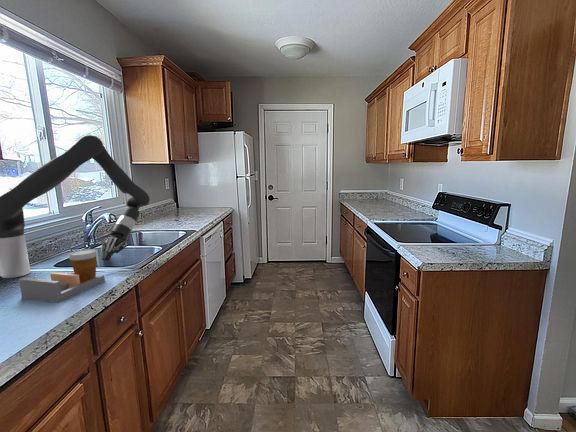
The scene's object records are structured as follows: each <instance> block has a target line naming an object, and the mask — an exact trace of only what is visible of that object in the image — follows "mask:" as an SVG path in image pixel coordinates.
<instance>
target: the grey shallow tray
mask: <svg viewBox="0 0 576 432" xmlns="http://www.w3.org/2000/svg"><path fill="white" fill-rule="evenodd" d="M68 274H75V273H74V271H73V272H69V273H68ZM104 282H106V278H105V275H104V274H100V275H98V276H96V277H95V278H93V279H91V280H88V281H86V282H83V283H80V284H79V285H76V286H74V287H72V288H69V289H67V290H65V291H61V290H60V283H59V281H51V279H50V280H49V279H39V278H38V279H37V278H30V277H29V278H28V277H21V278H19V279H18V284H19V288H20V293H21V294H20V296H21V298H22V299H25V300H33V301H43V302H48V303H49V302H50V303H60V302H62V301H64V300H66V299H69V298H71V297H73V296H75V295H77V294H80V293H82V292H84V291H86V290H88V289H92V288H93V287H95V286H98V285H100V284H102V283H104Z"/></svg>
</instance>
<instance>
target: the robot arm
mask: <svg viewBox="0 0 576 432" xmlns="http://www.w3.org/2000/svg"><path fill="white" fill-rule="evenodd" d="M91 159H93V160H94V162H96V163H97V164H98V165H99V166H100V168H102V170H103V171H104V173H105V174H106V175H107V176H108V178H109V179H110V180H111V182H112V183H113V184H114V185H115V186H116V187H117V188H118V190H119V191H120V192H121V193H123V194H127V195H130V196H129V197H128V198H127V200H126V203H125V207H124V210H123V211H122V213H121V215H120V216H119V218H118V219H117V220H116V222H115V223H114V225H113V227H112V229H111V230H110V236H108V237H107V239H106V240H104V239H103V240H101V242H100V243H101V248H102V250H103V252H104V254H103V255H102V258H101V260H102V261H104V262H105V263H107V262H110V260H111V259H112V256H113V255H114V254H118V253H120V252H121V251H123V250H124V249H125V248H127V247H128V245H129V244H128V243H127V242H126V240H128V239H129V237H130V234H131V233H132V232H133V229H134V227H135V224H136V223H137V221H138V219H139V217H140V211H139V209H140V208H142V207H145V206H148V205H149V203H150V196H149V194H148V193H147V192H146V190H144V189H143V188H141V187H140V185H139V186H138V185H137V184H136V183H134V181H133V180H132V178H131V177H130V176H129V175H128V174H127V173H126V172H125V171H124V170H123V169H122V167H121V166H120V165H119V164H118V163H117V162H116V161H115V159H113V157H112V156H111V155H110V153H109V152H108V150H107V149H106V148H105V145H104V143H103V141H102V140H101V138H100V137H98V136H96V135H93V134H84V135H83V136H81V137H80V138H79V139H78V140H77V142H75V144H73V145H72V146H71V147H70V148H68V150H66V151H65V152H63V153H62V154H60V155H58V156H56V157H54V158H52V159H50V160H48V161H47V162H46V163H43V164H42V165H40V166H39V167H38V168H37V169H35V170H34V171H32V172H31V173H30V174H29V175H28V176H26V177H25V178H24V179H23V180H22V181H20V183H18V184H17V185H16V186H15V187H13V188H12V189H10V190H9V191H7V192H5V193H3V194H2V195H1V196H0V277H1V278H2V279H14V278H19V277H23V276H26V275H28V274H30V273H31V266H30V262H29V254H28V248H27V242H26V236H25V225H26V223H25V217H24V209H23V208H24V207H25V206H26V205H28V204H29V203H30V202H31V201H33V200H35V199H36V198H39V197H40V196H43V195H44V194H46V193H48V192H49V191H52V190H53V189H55V188H56V187H57V186H59V185H60V184H62V183H63V182H64V181H65V180H66V179H68V177H70V176H71V175H72V174H73V173H74V172H75V171H76V170H77V169H78V168H79V167H81V166H82V165H83V164H85V163H87V162H88V161H90V160H91Z"/></svg>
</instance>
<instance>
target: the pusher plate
mask: <svg viewBox="0 0 576 432" xmlns="http://www.w3.org/2000/svg"><path fill="white" fill-rule="evenodd" d="M49 276H50V280H51V281H59V283H60V290H61V292H62V291H65V290H67V289H69V288H72V287H74V286H76V285H79V284H81V283H80V279H79V275H77V274H69V273H65V272H64V273H63V272H51V273H50V274H49Z"/></svg>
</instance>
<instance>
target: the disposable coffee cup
mask: <svg viewBox="0 0 576 432" xmlns="http://www.w3.org/2000/svg"><path fill="white" fill-rule="evenodd" d="M97 256H98V252H97V250H96V249H94V248H90V249H89V248H88V249H78V250H74V251H72V252H70V253H69V256H68V259H69V260H70V262H71V266H72V270H73V273H75V274H77V275H79V279H80V284H81V283H83V282H86V281H88V280H91V279H93V278H95V277H97Z"/></svg>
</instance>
